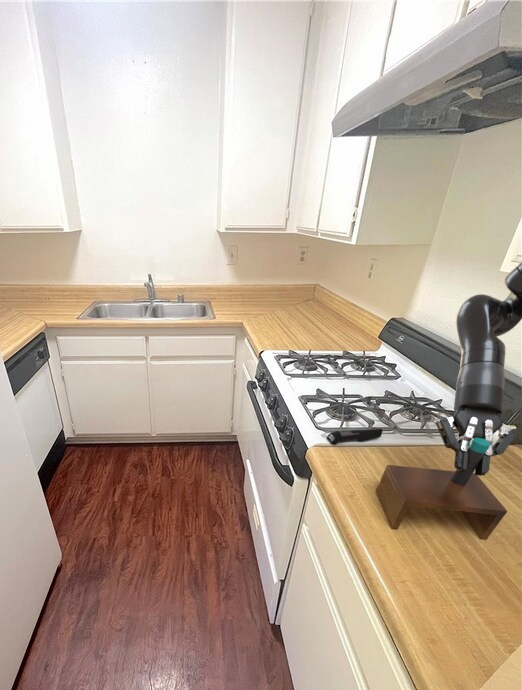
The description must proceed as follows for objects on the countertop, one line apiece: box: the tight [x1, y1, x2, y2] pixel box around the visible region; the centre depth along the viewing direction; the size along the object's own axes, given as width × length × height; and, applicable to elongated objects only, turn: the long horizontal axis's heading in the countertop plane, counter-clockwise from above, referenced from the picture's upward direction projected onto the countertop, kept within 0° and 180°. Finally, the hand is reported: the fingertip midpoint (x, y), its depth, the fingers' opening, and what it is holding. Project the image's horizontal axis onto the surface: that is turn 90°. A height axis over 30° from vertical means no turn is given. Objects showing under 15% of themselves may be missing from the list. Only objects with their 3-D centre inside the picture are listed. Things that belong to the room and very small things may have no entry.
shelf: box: [375, 464, 508, 541], centre depth 71 cm, size 18×11×8 cm, turn 82°
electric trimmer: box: [326, 428, 383, 445], centre depth 96 cm, size 4×16×3 cm, turn 100°
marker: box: [451, 438, 491, 486], centre depth 68 cm, size 3×3×10 cm
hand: (470, 472), depth 67 cm, fingers closed on marker, 2 cm apart
